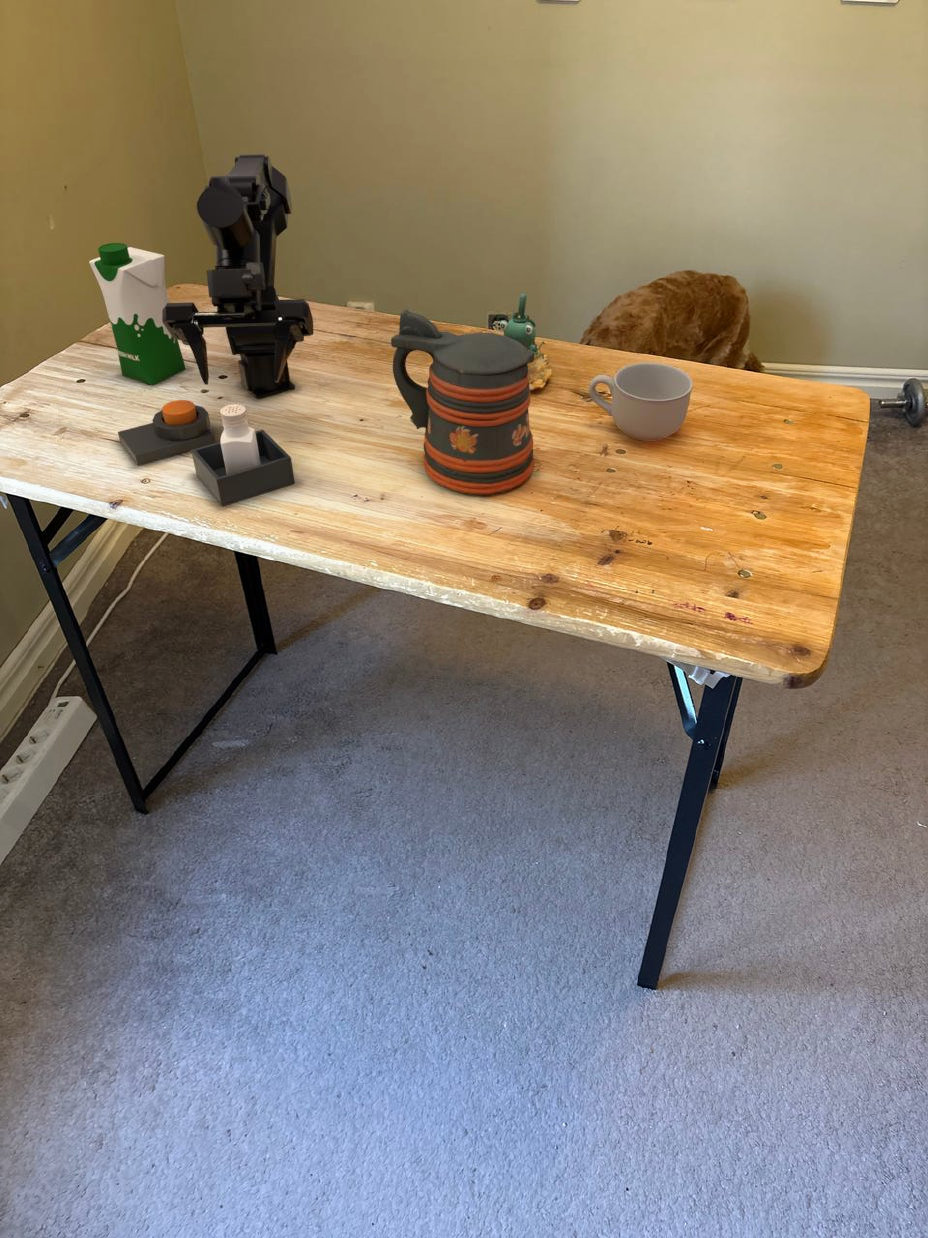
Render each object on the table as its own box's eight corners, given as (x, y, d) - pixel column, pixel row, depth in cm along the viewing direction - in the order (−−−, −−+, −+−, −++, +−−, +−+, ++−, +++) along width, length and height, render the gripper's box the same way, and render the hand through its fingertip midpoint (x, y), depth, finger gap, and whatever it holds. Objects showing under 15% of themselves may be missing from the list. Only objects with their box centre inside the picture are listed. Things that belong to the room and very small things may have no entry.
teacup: (693, 422, 130) (702, 369, 125) (673, 456, 123) (682, 401, 118) (600, 404, 135) (605, 352, 130) (576, 436, 127) (580, 383, 122)
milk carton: (113, 376, 144) (78, 246, 131) (156, 356, 150) (127, 230, 137) (152, 389, 140) (120, 256, 127) (195, 368, 146) (168, 239, 133)
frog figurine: (577, 367, 145) (580, 277, 135) (516, 421, 135) (514, 329, 125) (527, 352, 149) (526, 264, 139) (464, 404, 139) (457, 314, 129)
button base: (200, 421, 132) (195, 398, 130) (220, 443, 127) (215, 420, 124) (120, 442, 127) (114, 419, 125) (138, 466, 122) (131, 443, 120)
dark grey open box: (267, 455, 124) (262, 429, 121) (295, 484, 118) (291, 457, 115) (196, 476, 120) (190, 449, 117) (222, 507, 114) (216, 479, 111)
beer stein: (377, 483, 118) (365, 334, 105) (412, 431, 129) (406, 290, 116) (519, 504, 114) (524, 351, 101) (543, 448, 125) (551, 304, 112)
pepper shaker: (227, 484, 117) (214, 417, 111) (231, 469, 120) (219, 402, 114) (259, 483, 117) (247, 416, 111) (262, 467, 120) (251, 401, 114)
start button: (190, 408, 128) (188, 396, 127) (201, 420, 125) (199, 408, 124) (160, 416, 126) (157, 404, 125) (170, 428, 123) (167, 417, 122)
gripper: (148, 238, 112) (150, 360, 110) (300, 234, 113) (304, 356, 111) (173, 281, 123) (175, 392, 121) (312, 277, 124) (315, 388, 122)
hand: (241, 382), depth 119 cm, fingers open, 9 cm apart
